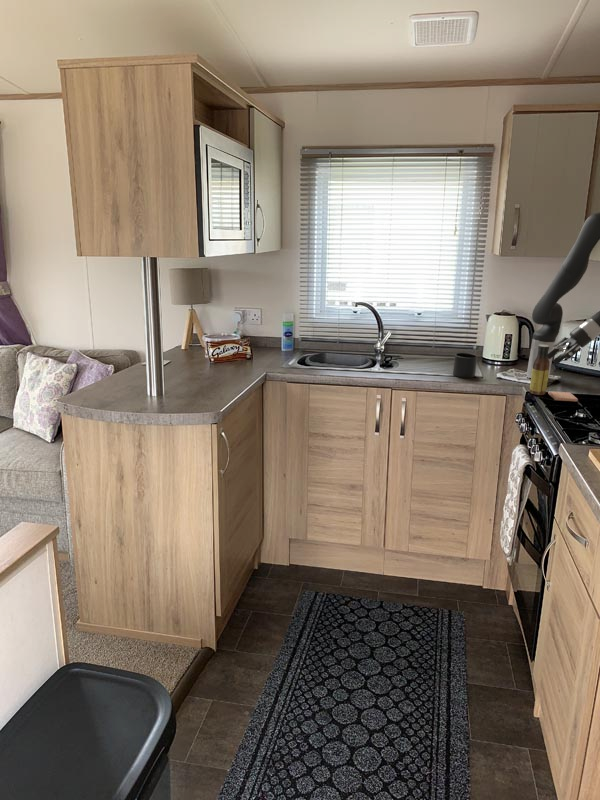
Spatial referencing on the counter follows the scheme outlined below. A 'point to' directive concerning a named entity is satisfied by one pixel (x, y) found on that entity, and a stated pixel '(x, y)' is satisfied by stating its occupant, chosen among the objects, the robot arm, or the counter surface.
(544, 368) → the sauce bottle
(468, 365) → the mug
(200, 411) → the counter surface
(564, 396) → the coaster
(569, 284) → the robot arm
